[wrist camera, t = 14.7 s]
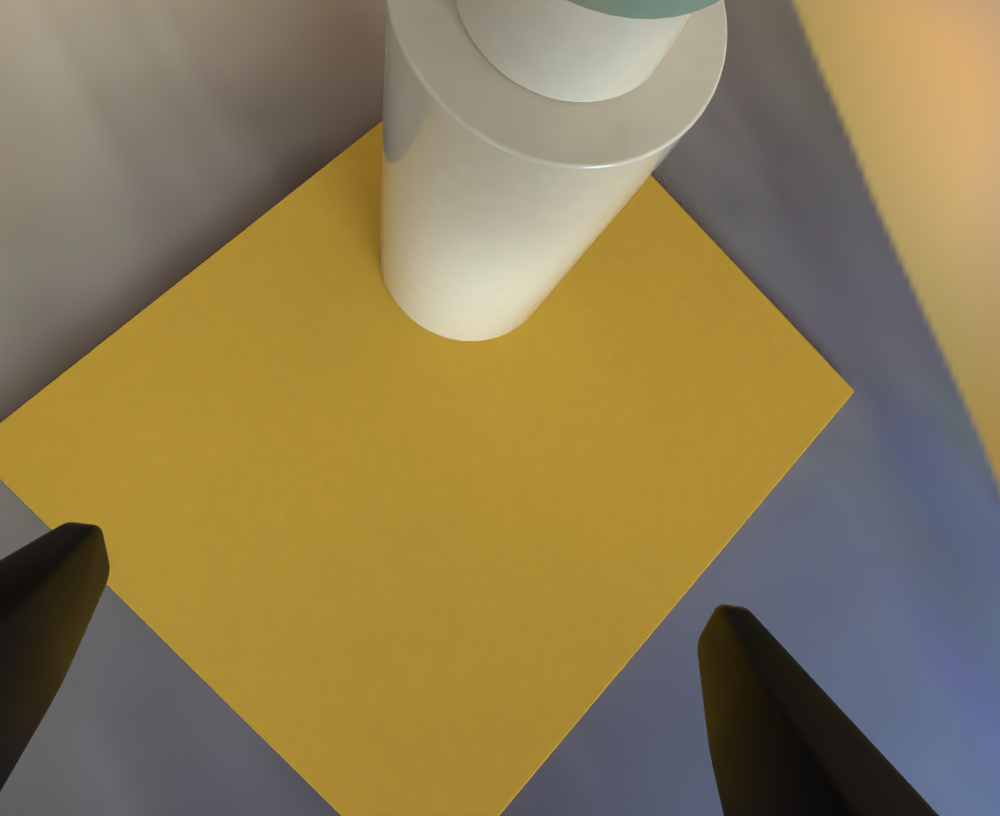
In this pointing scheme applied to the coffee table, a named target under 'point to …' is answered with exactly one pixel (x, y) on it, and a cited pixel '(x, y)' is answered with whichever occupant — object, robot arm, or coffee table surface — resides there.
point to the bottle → (525, 141)
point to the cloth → (420, 484)
